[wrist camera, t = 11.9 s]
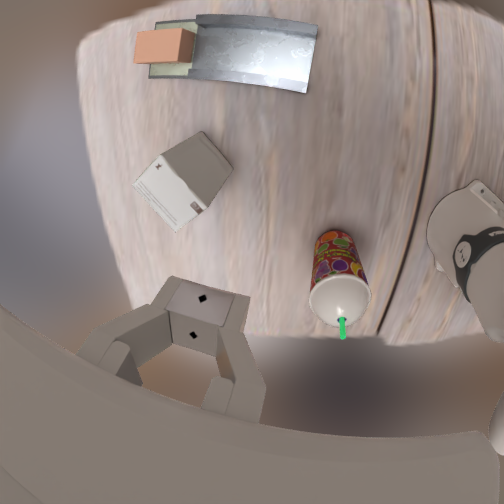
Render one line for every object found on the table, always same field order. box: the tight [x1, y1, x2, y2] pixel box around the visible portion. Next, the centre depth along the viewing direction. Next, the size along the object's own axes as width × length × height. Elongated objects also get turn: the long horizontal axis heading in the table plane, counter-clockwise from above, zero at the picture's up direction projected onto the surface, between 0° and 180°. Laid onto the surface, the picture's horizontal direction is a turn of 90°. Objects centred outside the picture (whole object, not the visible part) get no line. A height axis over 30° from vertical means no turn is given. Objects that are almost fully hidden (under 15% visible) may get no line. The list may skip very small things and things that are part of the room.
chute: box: [148, 14, 318, 93], centre depth 30 cm, size 24×10×4 cm, turn 82°
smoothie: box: [309, 231, 371, 339], centre depth 37 cm, size 8×8×20 cm
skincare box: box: [132, 132, 233, 232], centre depth 35 cm, size 8×6×15 cm
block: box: [134, 28, 195, 64], centre depth 29 cm, size 7×5×4 cm
